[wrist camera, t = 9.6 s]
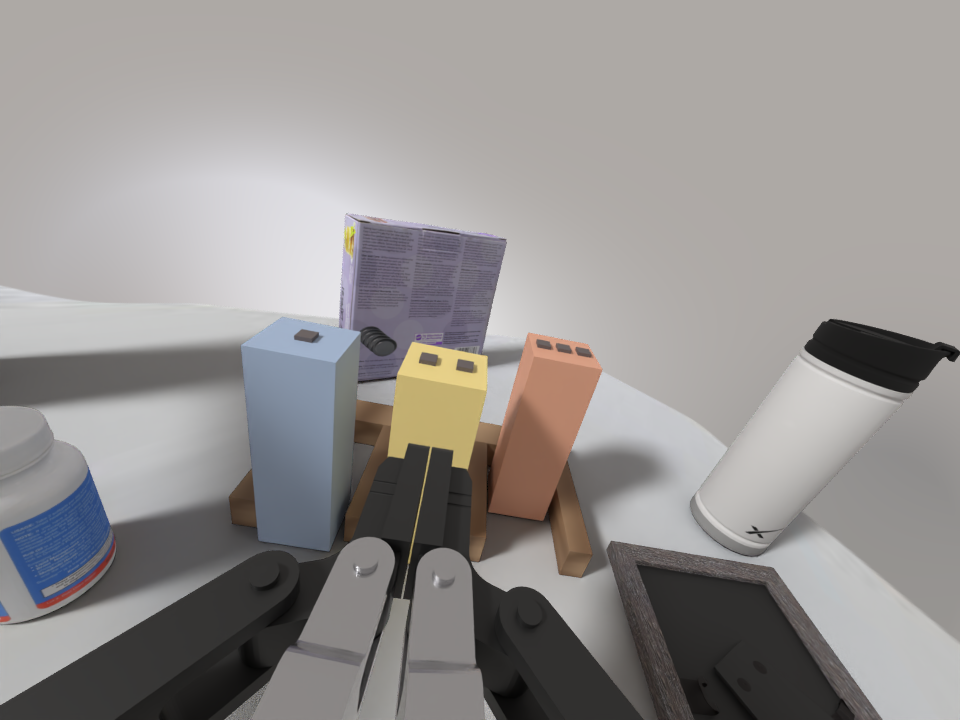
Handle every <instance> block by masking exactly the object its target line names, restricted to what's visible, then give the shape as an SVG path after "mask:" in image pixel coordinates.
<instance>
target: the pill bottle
mask: <svg viewBox="0 0 960 720" xmlns="http://www.w3.org/2000/svg"><path fill="white" fill-rule="evenodd" d="M115 554H116V541H115V537H114V534H113V531H112V529H111V526H110V523H109V521H108V518H107V516H106V513H105V510H104V507H103V505H102V502H101V499H100V497H99V494H98V492H97V489H96V486H95V484H94V481H93V478H92V476H91V473H90V470H89V467H88V465H87V463H86V460H85V458H84V456H83V454H82V453H81V452H80V451H79V450H78V449H77V448H76V447H75V446H73V445H71V444H69V443H66V442H63V441H59V440H54V435H53V432H52V430H51V429H50V427H49V425H48V423H47V421H46V419H45V416H44V415H43V414H42V413H41V412H39V411H38V410H36V409H33V408H29V407H23V406H0V624H11V623H18V622H23V621H27V620H30V619H34V618H37V617H40V616H42V615H45V614H48V613H50V612H52V611H55V610H57V609H59V608H61V607H63V606H65V605H66V604H68V603H70V602H71V601H73V600H74V599H76V598H77V597H79V596H80V595H82V594H83V593H84V592H86V591H87V590H88V589H89V588H91V587H92V586H93V585H94V584H95V583H96V582H97V581H98V580H99V579H100V578H101V577H102V576H103V575H104V574H105V572H106V571H107V570H108V568H109V567H110V565H111V563H112V561H113V559H114V557H115Z"/></svg>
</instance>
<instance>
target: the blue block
mask: <svg viewBox="0 0 960 720" xmlns="http://www.w3.org/2000/svg"><path fill="white" fill-rule="evenodd" d="M360 339H361V332H359V331H353V330H348V329H343V328H338V327H333V326H327V325H322V324H317V323H312V322H307V321H301V320H296V319H291V318H286V317H281V318H280V319H278V320H277V321H276V322H274V323H273V324H271V325H270V326H268V327H267V328H265V329H264V330H262V331H261V332H259V333H258V334H256V335H255V336H254V337H252V338H251V339H249V340H248V341H246V342H245V343H243V344H242V345H241V353H242V364H243V375H244V386H245V397H246V408H247V419H248V430H249V441H250V452H251V464H252V475H253V486H254V497H255V508H256V519H257V530H258V541H263V542H270V543H276V544H283V545H289V546H296V547H302V548H309V549H315V550H322V551H328V552H329V551H330V549H331V546H332V544H333V542H334V539H335V537H336V535H337V532H338V530H339V528H340V525H341V523H342V520H343V518H344V516H345V513H346V511H347V509H348V506H349V504H350V493H351V478H352V462H353V447H354V432H355V416H356V401H357V385H358V370H359V355H360Z"/></svg>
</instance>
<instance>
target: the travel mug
mask: <svg viewBox="0 0 960 720" xmlns="http://www.w3.org/2000/svg"><path fill="white" fill-rule="evenodd" d="M959 355H960V351H959V350H957V349H956V348H955V347H954V346H951V345H948V344H945V343H942V342H937V343H935V344H932V343H929V342H926V341H923V340H920V339H916V338H913V337H909V336H906V335H902V334H899V333H895V332H891V331H887V330H883V329H879V328H875V327H871V326H867V325H862V324H857V323H853V322H848V321H842V320H836V319H830V320H829V321H827V322H825V321H824V322H822V323H821V325H820V326H819V327H818V329H817V330H816V331H815V333H814V334H813V339H811V340H809V341H808V342H807V344H806V345H805V346H804V347H803V348H802V349H801V350H800V355H798V356H796V357H795V359H794V360H793V361H792V363H791V364H790V365H789V367H788V368H787V370H786V371H785V372H784V374H783V375H782V376H781V378H780V379H779V380H778V382H777V383H776V385H775V386H774V387H773V389H772V390H771V391H770V393H769V394H768V395H767V397H766V398H765V399H764V401H763V402H762V404H761V405H760V406H759V408H758V409H757V410H756V412H755V413H754V414H753V416H752V417H751V419H750V420H749V421H748V423H747V424H746V425H745V427H744V428H743V429H742V431H741V432H740V434H739V435H738V436H737V438H736V439H735V440H734V442H733V443H732V445H731V446H730V447H729V449H728V450H727V451H726V453H725V454H724V455H723V457H722V458H721V459H720V461H719V462H718V464H717V465H716V466H715V468H714V469H713V470H712V472H711V473H710V474H709V476H708V477H707V479H706V480H705V481H704V483H703V484H702V485H701V487H700V489H699V490H698V491H697V492H696V494H695V495H694V496H693V498H692V499H691V501H690V507H691V512H692V514H693V516H694V518H695V519H696V521H697V522H698V524H699V525H700V526H701V527H702V529H703V530H704V531H705V532H706V533H707V534H708V535H709V536H711V537H712V538H713V539H714V540H716V541H717V542H718V543H720V544H721V545H723V546H725V547H726V548H728V549H730V550H732V551H735V552H737V553H740V554H743V555H748V556H756V555H759V554H761V553H763V552H764V550H765V549H766V548H767V547H768V546H769V545H770V544H771V543H772V541H774V540H775V539H776V538H777V537H778V536H779V535H780V534H781V532H782V531H783V530H784V529H785V528H786V527H787V526H788V525H789V524H790V523H791V522H792V521H793V520H794V519H795V518H796V517H797V516H798V515H799V513H800V512H801V511H802V510H803V509H804V508H805V507H806V506H807V505H808V504H809V503H810V502H811V501H812V500H813V499H814V498H815V497H816V495H817V494H818V493H819V492H820V491H821V490H822V489H823V488H824V487H825V486H826V485H827V484H828V483H829V482H830V481H831V480H832V479H833V477H834V476H835V475H836V474H837V473H838V472H839V471H840V470H841V469H842V468H843V467H844V466H845V465H846V464H847V463H848V462H849V461H850V460H851V459H852V457H853V456H854V455H855V454H856V453H857V452H858V451H859V450H860V449H861V448H862V447H863V446H864V445H865V444H866V443H867V442H868V441H869V440H870V438H871V437H872V436H873V435H874V434H875V433H876V432H877V431H878V430H879V429H880V428H881V427H882V426H883V425H884V423H886V421H888V419H889V418H890V417H891V416H892V415H893V414H894V413H895V412H896V411H897V410H898V409H899V408H900V407H901V406H902V405H903V400H905V399H908V398H909V397H910V396H911V395H912V394H913V391H914V390H915V389H916V388H917V387H918V386H919V382H920V381H921V380H925V379H926V378H927V377H928V375H929V374H930V373H931V371H932V370H933V368H934V367H935V366H936V364H937V363H938V362H939V361H940V360H941V359H942V358H944V357H947V359H948V360H949V361H952V362H955V360H956V359H957V357H958V356H959Z"/></svg>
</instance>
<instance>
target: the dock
mask: <svg viewBox="0 0 960 720" xmlns="http://www.w3.org/2000/svg"><path fill="white" fill-rule="evenodd" d="M392 414H393V406H389V405H383V404H378V403H372V402H367V401H361V400H357V401H356V416H355V432H354V442H356V443H362V444H368V445H374V446H375V447H374V449H373V451H372V454H371V456H370V458H369V461H368V463H367V465H366V468H365V470H364V472H363V475H362V477H361V480H360V482H359V484H358V487H357V489H356V491H355V494H354V496H353V498H352V501H351V503H350V505H349V508H348V510H347V512H346V515H345V529H344V541H347V542H350V540H351V539H352V537H353V535H354V532H355V529H356V526H357V524H358V521H359V518H360V516H361V513H362V510H363V507H364V505H365V502H366V499H367V496H368V494H369V491H370V488H371V485H372V483H373V480H374V477H375V475H376V472H377V469H378V466H379V465H381V464H382V463H383V462H384V461H385V460H386V459H387V457H388V448H389V440H390V431H391V423H392ZM501 428H502V426H500V425H494V424H489V423H483V422H479V425H478V430H477V434H476V438H475V442H474V446H473V450H472V454H471V458H470V462H469V466H468V470H467V471H468V473H469V475H470V478H471V480H472V496H471V498H472V500H471V523H470V546H469V556H470V561H476V562H479V560H480V557H481V553H482V550H483V547H484V543H485V540H486V513H487V465H489V466H491V464H492V461H493V457H494V454H495V450H496V446H497V443H498V439H499V436H500V432H501ZM229 502H230V510H231V517H232V524H237V525H243V526H250V527H256V528H257V519H256V508H255V497H254V486H253V475H252V469H251V470H250V471H249V472H248V474H247V475H246V476H245V477H244V478H243V480H242V481H241V482H240V483H239V485H238V486H237V487H236V488H235V490H234V491H233V492H232V493H231V494H230V496H229ZM548 513H549V519H550V524H551V530H552V536H553V542H554V547H555V553H556V559H557V565H558V571H559V574H560V575H566V576H573V577H579V578H581V577H582V575H583V573H584V571H585V569H586V567H587V565H588V563H589V561H590V559H591V557H592V555H593V554H592V550H591V546H590V543H589V539H588V535H587V532H586V528H585V524H584V520H583V517H582V513H581V509H580V506H579V502H578V498H577V495H576V491H575V487H574V484H573V480H572V476H571V472H570V469H569V465H568V461H566V464H565V466H564V469H563V472H562V474H561V477H560V479H559V482H558V484H557V487H556V489H555V492H554V494H553V497H552V500H551V502H550V505H549V507H548Z"/></svg>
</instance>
